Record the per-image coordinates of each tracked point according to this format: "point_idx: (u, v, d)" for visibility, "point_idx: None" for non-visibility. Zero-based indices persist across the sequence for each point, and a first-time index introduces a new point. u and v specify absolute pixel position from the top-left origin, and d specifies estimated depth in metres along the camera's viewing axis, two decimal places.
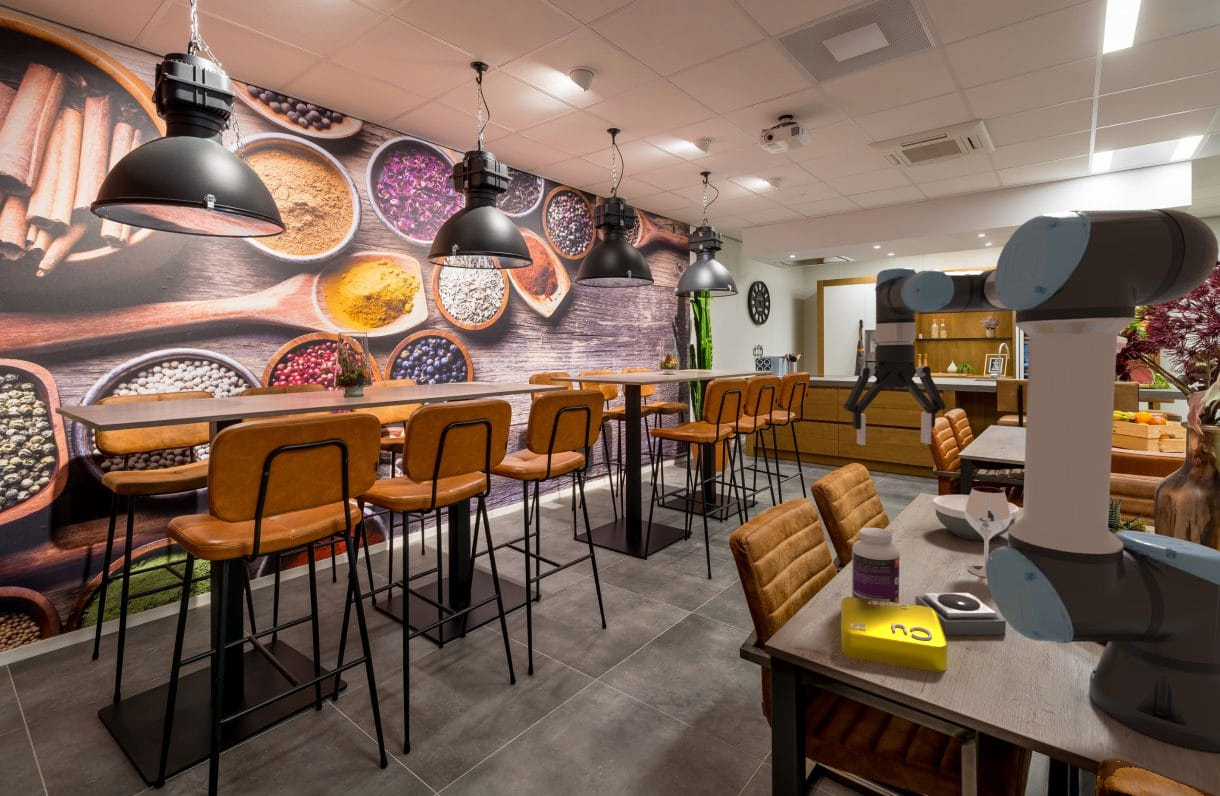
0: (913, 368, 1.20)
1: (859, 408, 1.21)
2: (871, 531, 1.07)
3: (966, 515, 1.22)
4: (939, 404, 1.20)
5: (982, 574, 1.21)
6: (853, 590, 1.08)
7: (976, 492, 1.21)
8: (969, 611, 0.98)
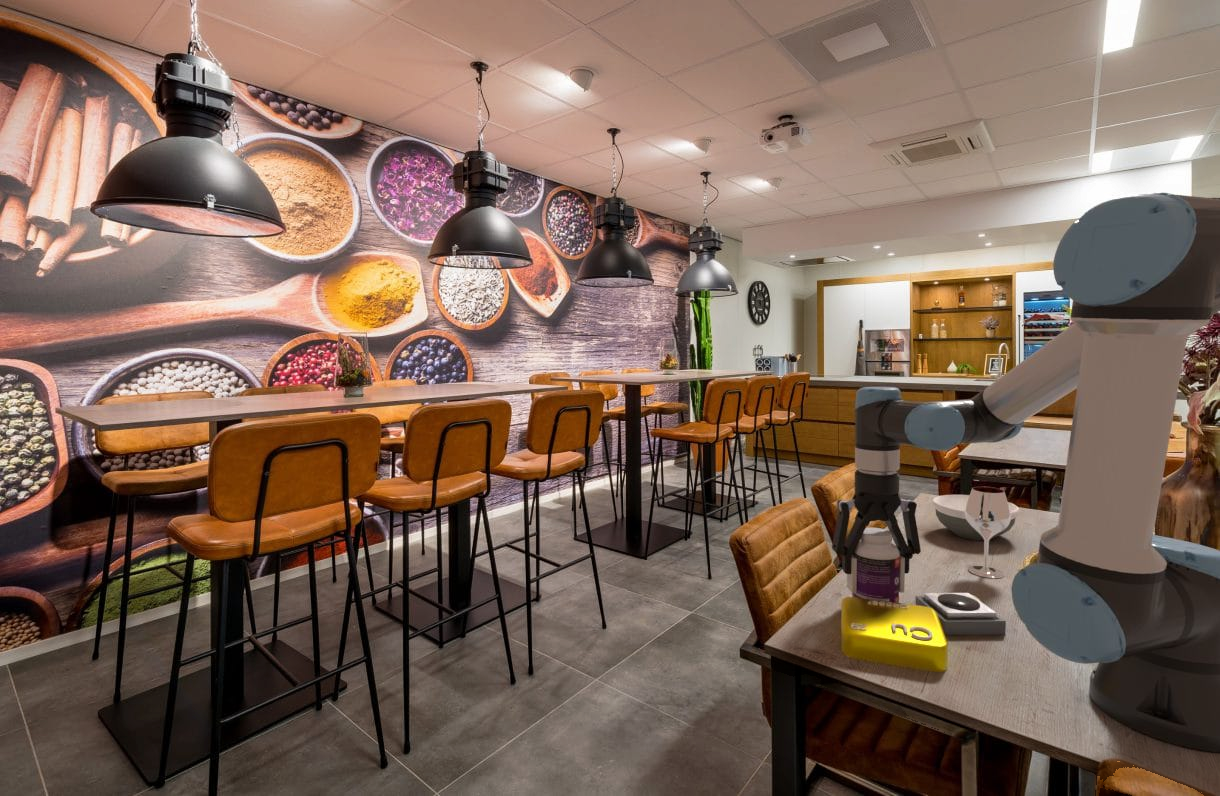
0: (898, 500, 1.05)
1: (848, 551, 1.06)
2: (871, 531, 1.07)
3: (966, 515, 1.22)
4: (914, 547, 1.06)
5: (982, 574, 1.21)
6: None
7: (976, 492, 1.21)
8: (969, 611, 0.98)
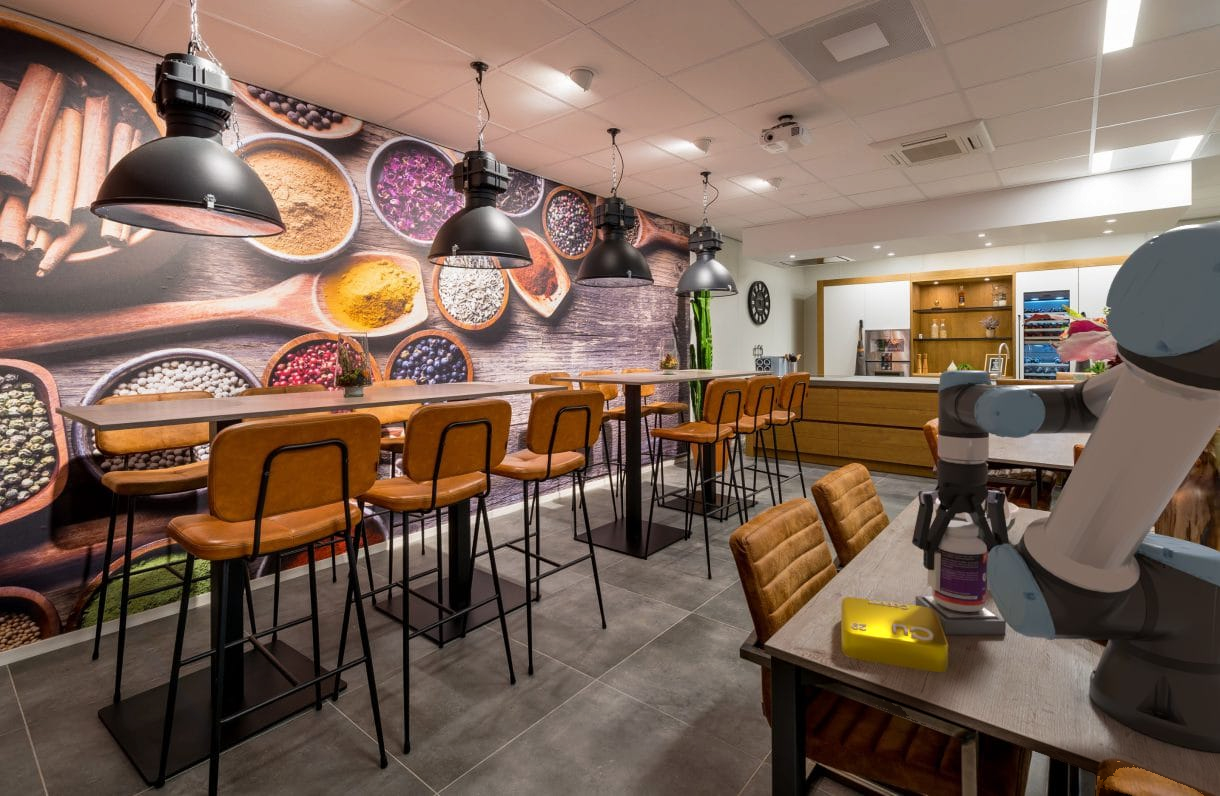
0: (986, 490, 0.98)
1: (932, 546, 0.99)
2: (955, 524, 1.01)
3: (966, 515, 1.22)
4: (1003, 541, 0.99)
5: None
6: None
7: None
8: (969, 614, 0.98)
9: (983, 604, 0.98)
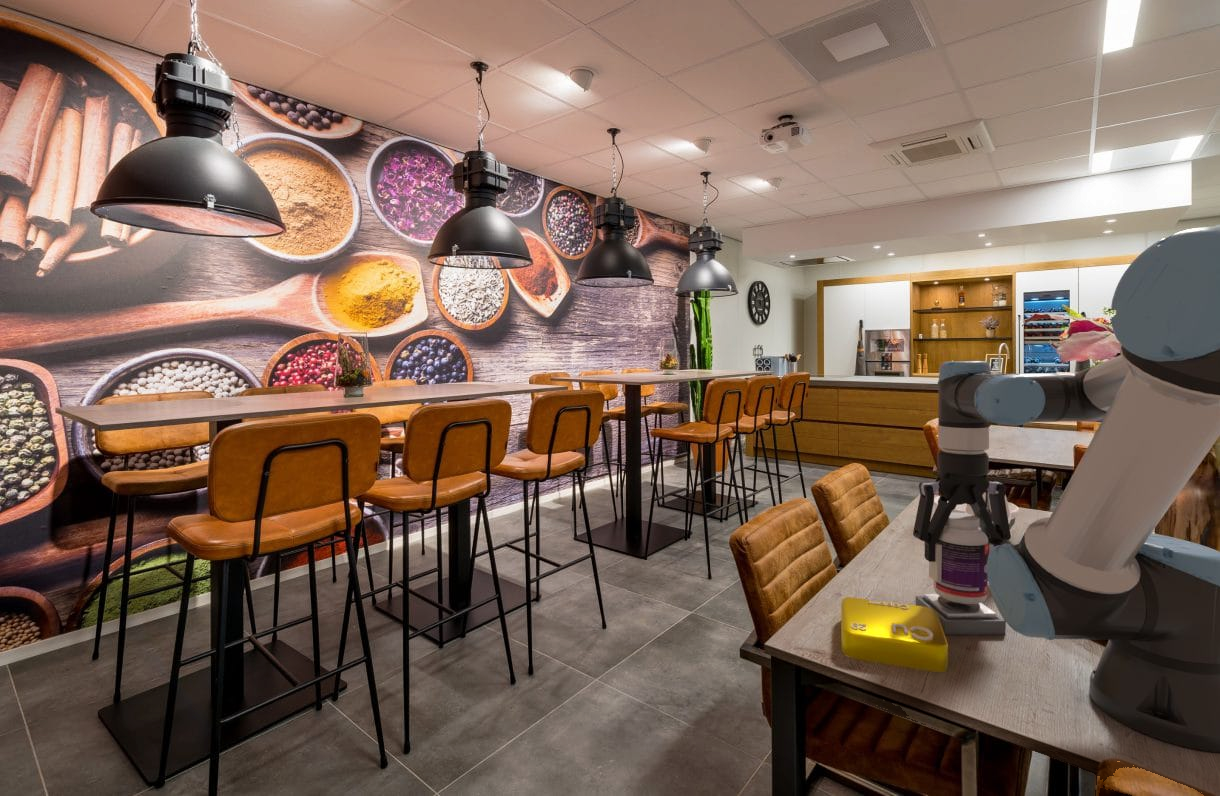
0: (986, 481, 0.98)
1: (933, 537, 0.99)
2: (956, 516, 1.00)
3: None
4: (1004, 532, 0.98)
5: None
6: None
7: None
8: (969, 612, 0.98)
9: (985, 596, 0.97)
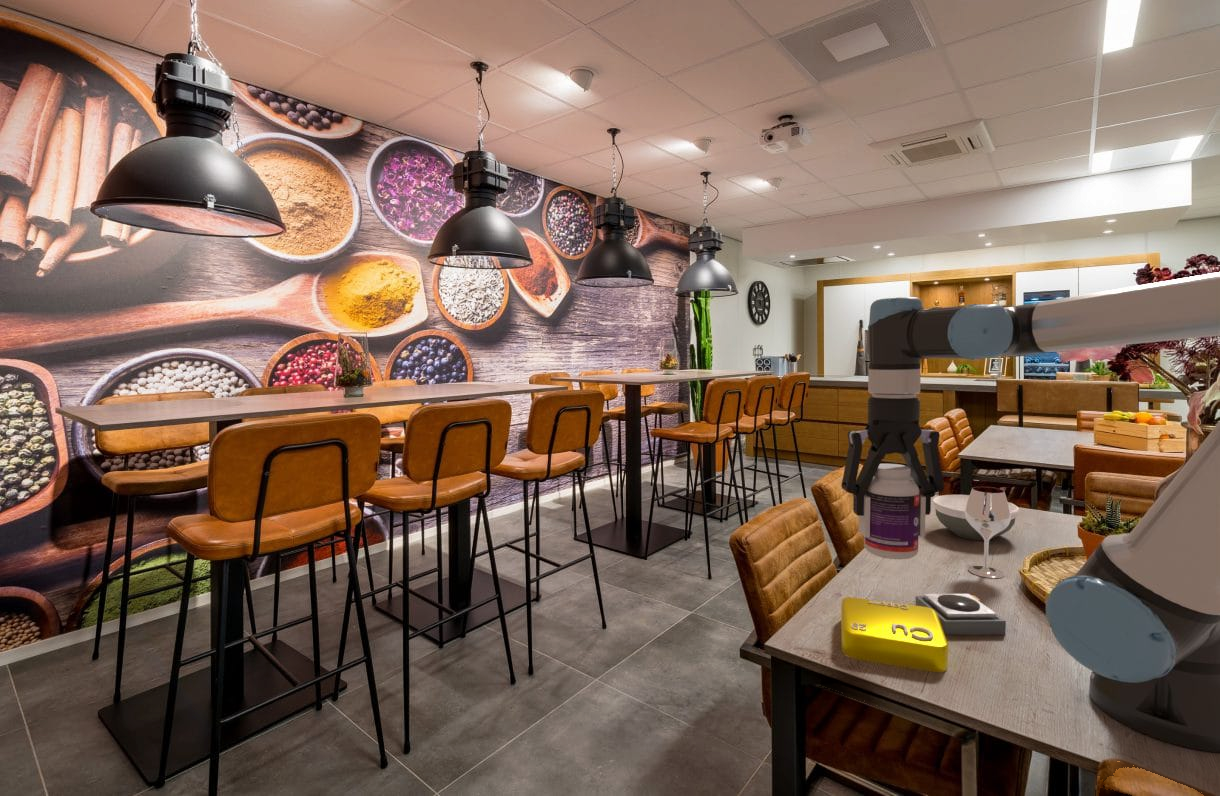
0: (918, 429, 0.91)
1: (861, 489, 0.92)
2: (886, 466, 0.93)
3: (966, 515, 1.22)
4: (937, 484, 0.92)
5: (982, 574, 1.21)
6: None
7: (976, 492, 1.21)
8: (969, 612, 0.98)
9: (915, 551, 0.91)
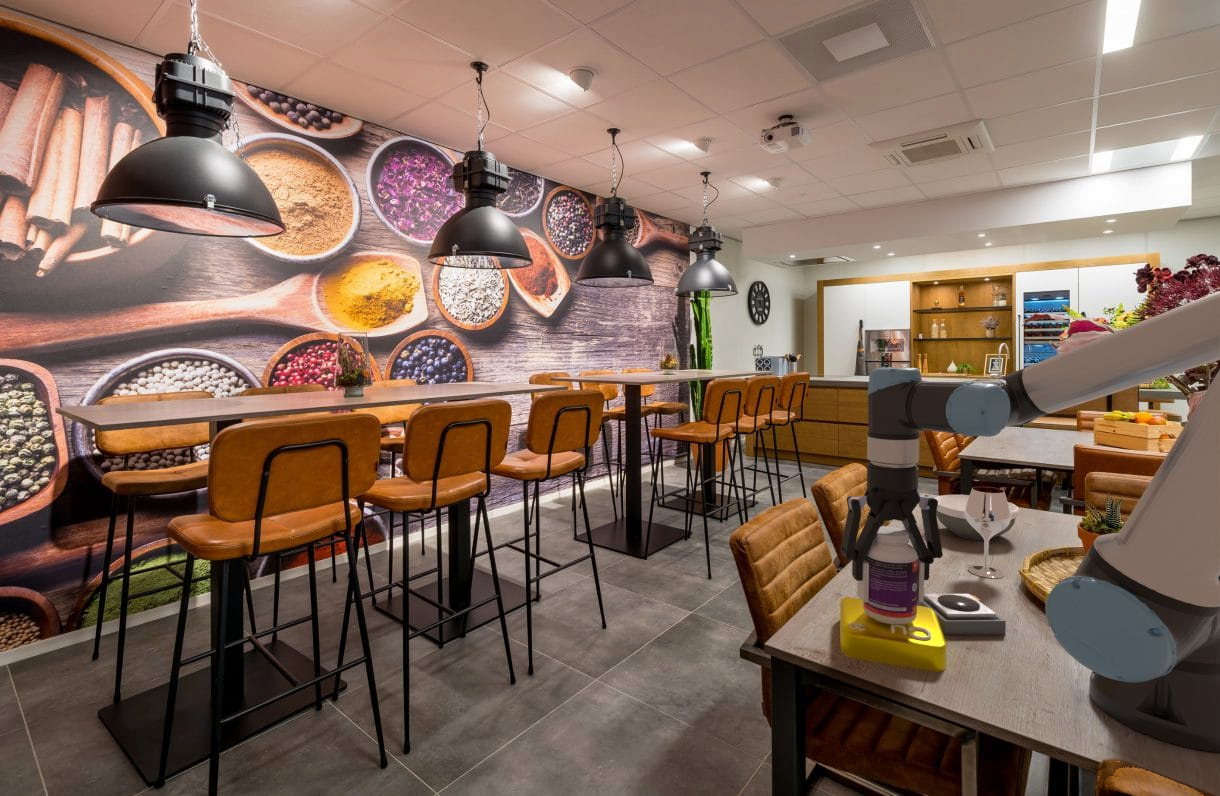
0: (917, 496, 0.92)
1: (859, 555, 0.93)
2: (885, 530, 0.94)
3: (966, 515, 1.22)
4: (935, 550, 0.92)
5: (982, 574, 1.21)
6: None
7: (976, 492, 1.21)
8: (969, 612, 0.98)
9: (913, 616, 0.92)
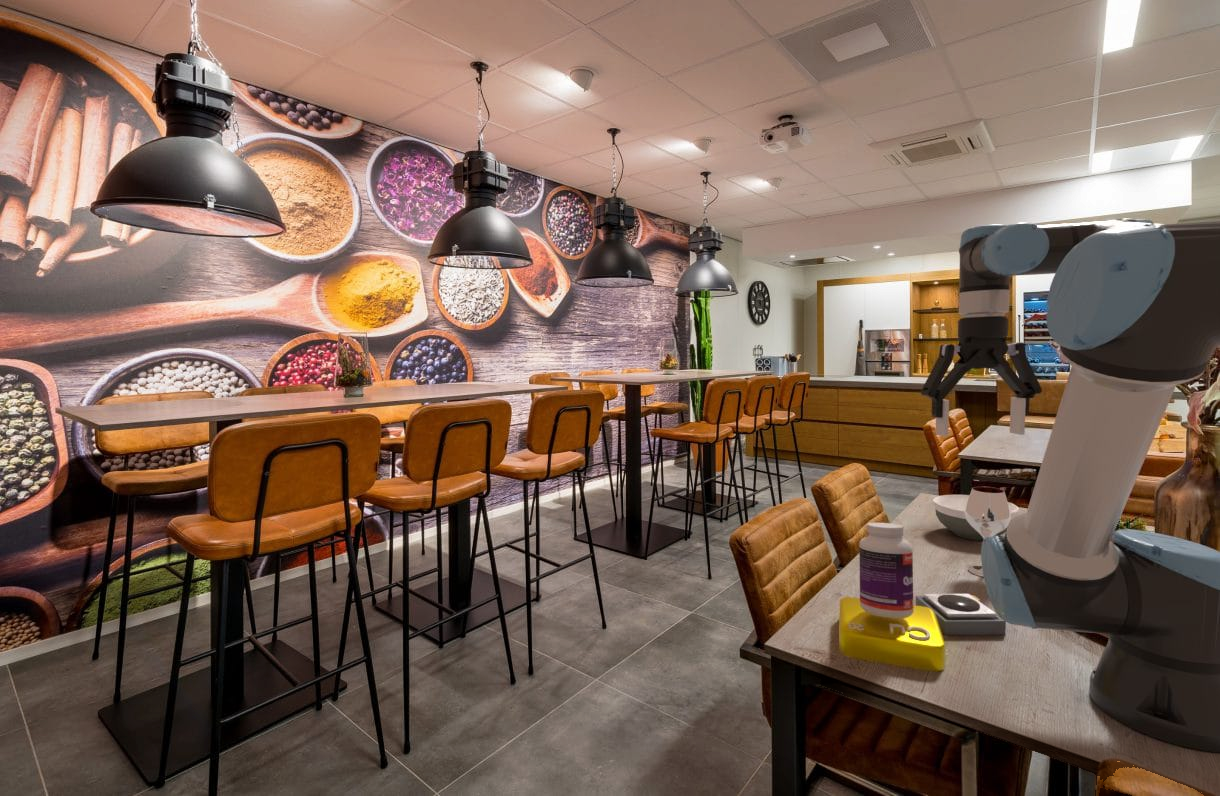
0: (1005, 345, 1.01)
1: (941, 392, 1.02)
2: (880, 524, 0.96)
3: (966, 515, 1.22)
4: (1034, 387, 1.02)
5: (982, 574, 1.21)
6: (860, 591, 0.96)
7: (976, 492, 1.21)
8: (969, 612, 0.98)
9: (906, 611, 0.91)
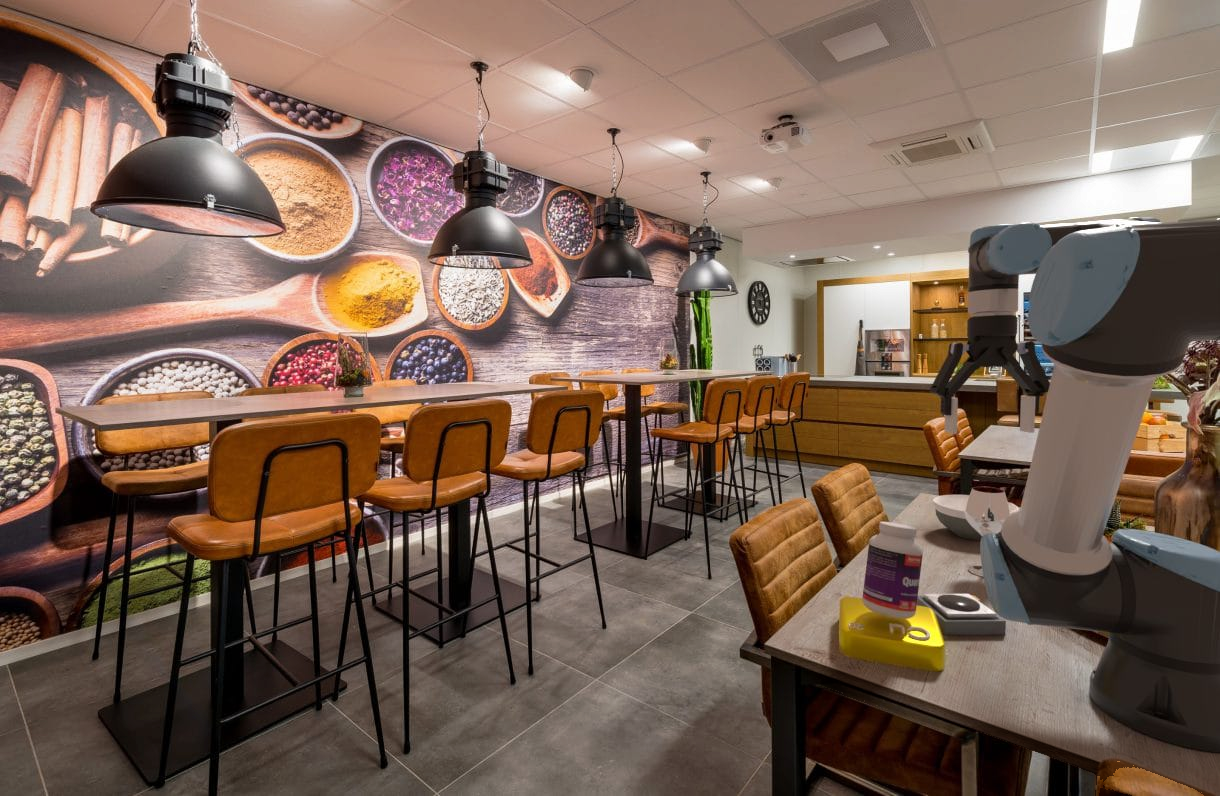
0: (1014, 343, 1.02)
1: (950, 390, 1.03)
2: (894, 524, 0.96)
3: (966, 515, 1.22)
4: (1044, 386, 1.02)
5: (982, 574, 1.21)
6: None
7: (976, 492, 1.21)
8: (969, 612, 0.98)
9: (902, 611, 0.91)
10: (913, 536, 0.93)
